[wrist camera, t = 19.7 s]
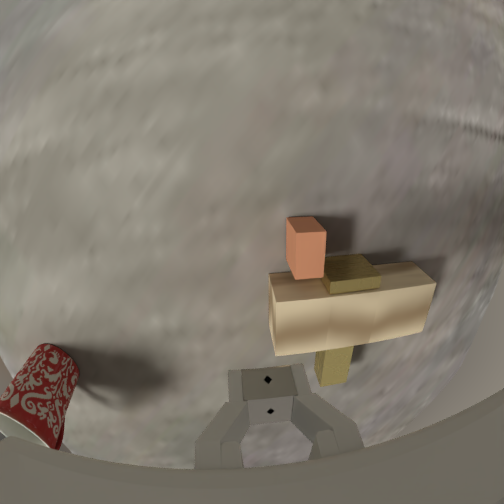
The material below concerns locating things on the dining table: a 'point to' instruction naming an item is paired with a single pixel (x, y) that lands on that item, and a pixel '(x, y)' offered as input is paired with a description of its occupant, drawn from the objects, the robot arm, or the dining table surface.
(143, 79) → the dining table surface
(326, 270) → the pin
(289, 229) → the orange block
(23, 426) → the mug
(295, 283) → the block
